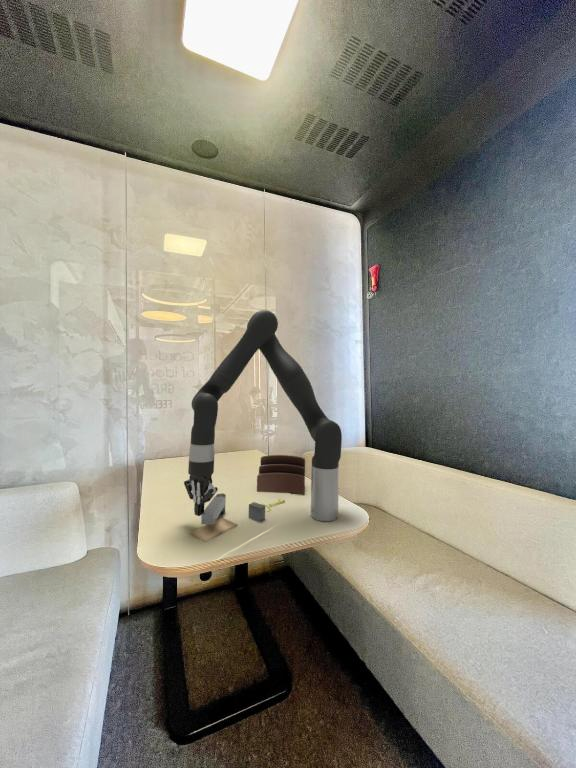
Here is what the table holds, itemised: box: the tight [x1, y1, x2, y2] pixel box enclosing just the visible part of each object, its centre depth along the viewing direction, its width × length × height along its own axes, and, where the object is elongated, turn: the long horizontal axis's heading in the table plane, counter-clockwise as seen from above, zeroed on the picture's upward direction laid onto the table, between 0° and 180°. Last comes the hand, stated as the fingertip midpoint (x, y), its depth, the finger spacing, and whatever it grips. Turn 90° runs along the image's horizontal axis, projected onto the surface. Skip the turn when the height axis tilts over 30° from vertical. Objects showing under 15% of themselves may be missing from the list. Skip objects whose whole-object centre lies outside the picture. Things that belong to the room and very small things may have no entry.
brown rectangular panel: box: [190, 517, 238, 543], centre depth 90 cm, size 12×7×1 cm, turn 143°
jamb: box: [248, 501, 266, 523], centre depth 100 cm, size 10×19×5 cm, turn 53°
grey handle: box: [200, 493, 227, 525], centre depth 96 cm, size 17×4×6 cm, turn 178°
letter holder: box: [256, 454, 306, 496], centre depth 127 cm, size 10×20×14 cm, turn 86°
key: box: [260, 498, 286, 513], centre depth 110 cm, size 7×12×2 cm, turn 147°
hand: (198, 514), depth 91 cm, fingers closed
